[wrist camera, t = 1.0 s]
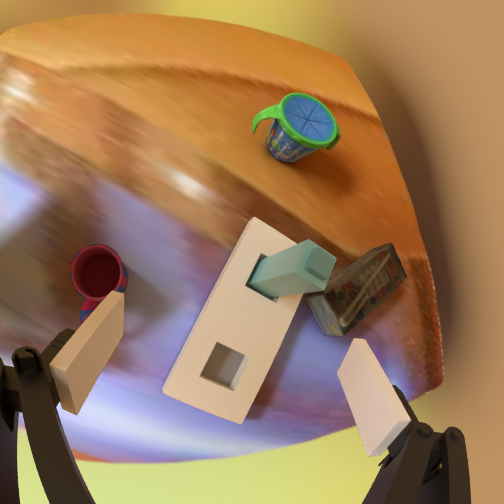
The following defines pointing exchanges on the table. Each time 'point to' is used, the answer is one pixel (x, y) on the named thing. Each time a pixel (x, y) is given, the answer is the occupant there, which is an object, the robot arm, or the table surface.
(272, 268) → the plug
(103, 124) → the table surface
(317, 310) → the beverage carton
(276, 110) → the sippy cup
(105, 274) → the cup
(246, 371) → the socket panel
